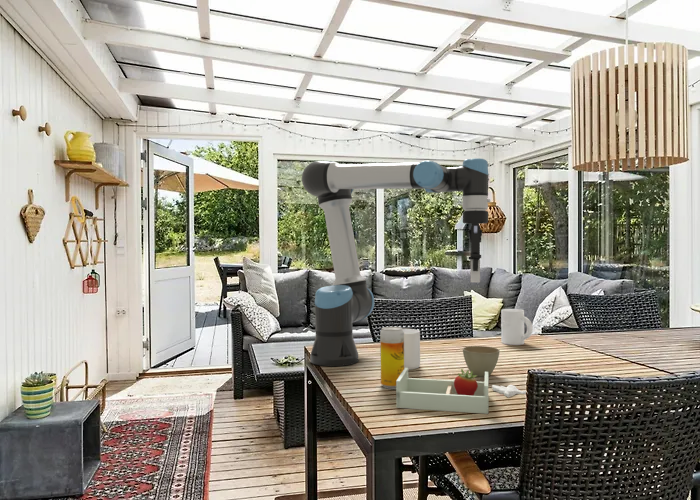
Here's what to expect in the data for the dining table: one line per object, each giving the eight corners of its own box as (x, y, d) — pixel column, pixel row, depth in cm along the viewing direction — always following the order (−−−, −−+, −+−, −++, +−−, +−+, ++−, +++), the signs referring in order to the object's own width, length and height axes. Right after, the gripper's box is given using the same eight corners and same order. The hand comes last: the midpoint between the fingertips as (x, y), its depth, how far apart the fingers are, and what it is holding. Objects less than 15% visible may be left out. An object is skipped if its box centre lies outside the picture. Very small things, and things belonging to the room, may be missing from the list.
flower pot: (474, 380, 142) (474, 353, 142) (456, 372, 152) (456, 347, 152) (507, 377, 145) (506, 351, 145) (487, 369, 155) (487, 344, 155)
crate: (396, 407, 120) (396, 381, 120) (405, 391, 132) (405, 367, 132) (488, 413, 115) (488, 386, 115) (488, 396, 127) (488, 371, 127)
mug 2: (525, 347, 186) (525, 313, 186) (496, 342, 195) (496, 310, 195) (538, 344, 191) (538, 311, 191) (509, 340, 200) (509, 308, 200)
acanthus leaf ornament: (508, 400, 127) (508, 392, 127) (488, 393, 133) (487, 385, 133) (531, 395, 130) (531, 387, 130) (510, 388, 136) (510, 381, 136)
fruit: (476, 407, 119) (476, 372, 119) (452, 405, 121) (452, 370, 121) (478, 401, 124) (478, 367, 124) (455, 399, 126) (455, 365, 125)
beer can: (403, 389, 134) (402, 330, 134) (379, 388, 135) (378, 330, 135) (405, 383, 140) (404, 326, 140) (382, 382, 141) (381, 326, 141)
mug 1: (377, 368, 158) (376, 332, 158) (405, 362, 165) (404, 327, 165) (397, 373, 151) (397, 335, 151) (426, 366, 159) (425, 330, 159)
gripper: (489, 207, 148) (489, 284, 149) (486, 212, 172) (486, 277, 173) (462, 208, 150) (461, 283, 150) (463, 212, 174) (462, 277, 174)
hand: (475, 280), depth 161 cm, fingers open, 13 cm apart
